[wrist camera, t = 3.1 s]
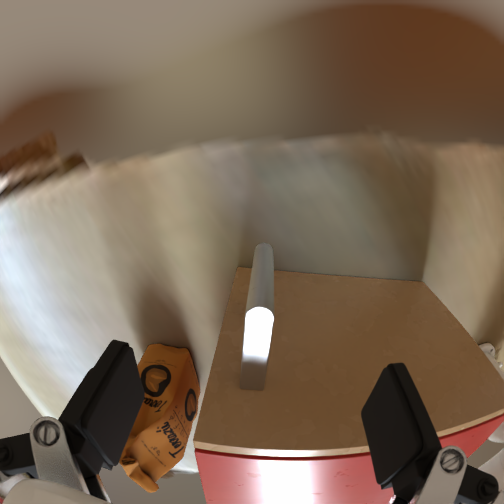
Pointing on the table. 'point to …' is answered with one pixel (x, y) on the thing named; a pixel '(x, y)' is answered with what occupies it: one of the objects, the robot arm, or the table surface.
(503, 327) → the table surface
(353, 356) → the door
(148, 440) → the coffee package
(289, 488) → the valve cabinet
